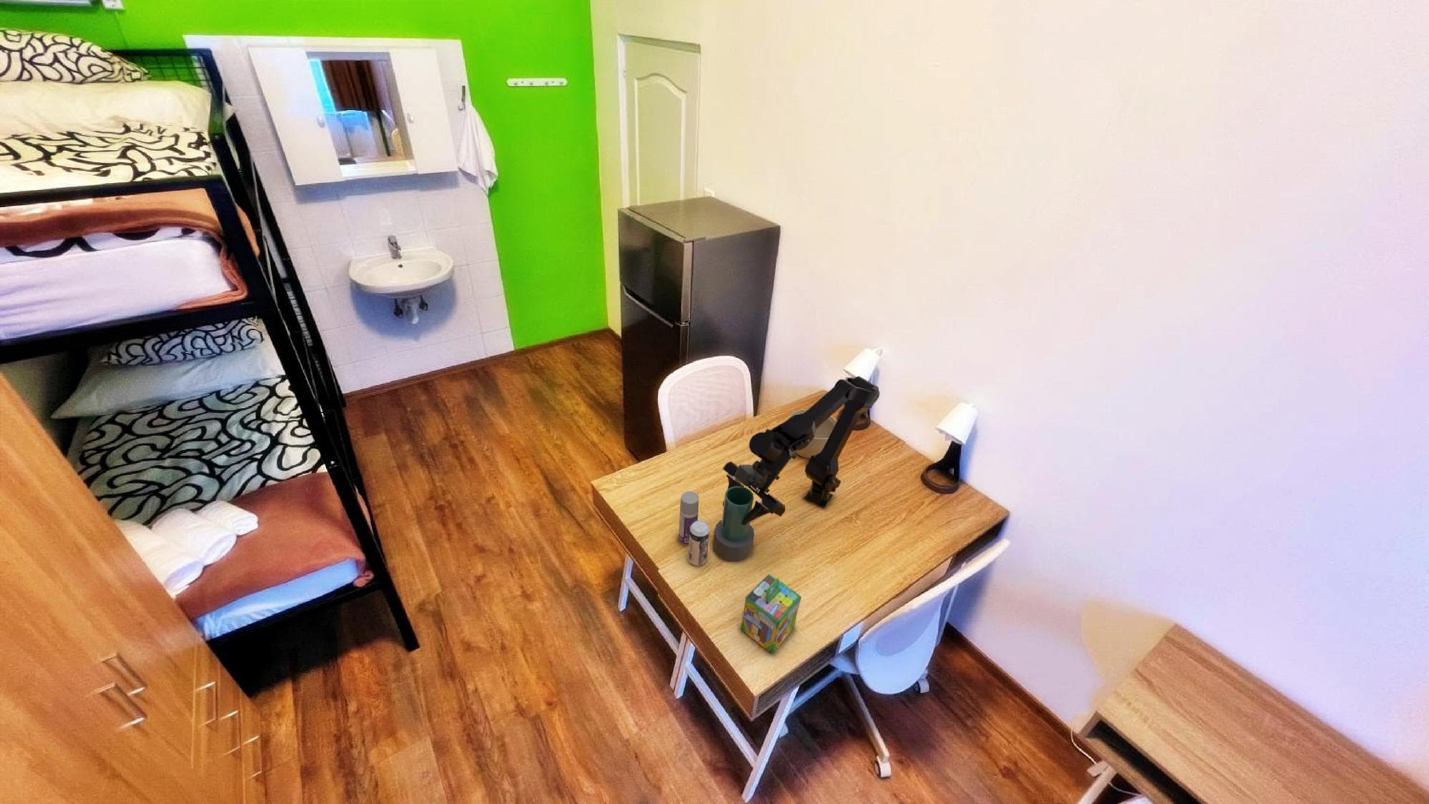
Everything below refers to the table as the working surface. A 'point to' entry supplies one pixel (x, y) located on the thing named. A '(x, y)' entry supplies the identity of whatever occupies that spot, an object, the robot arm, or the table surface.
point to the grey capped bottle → (698, 542)
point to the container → (687, 515)
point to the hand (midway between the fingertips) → (732, 515)
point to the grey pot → (732, 545)
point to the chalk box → (770, 612)
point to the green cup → (736, 513)
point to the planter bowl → (816, 436)
